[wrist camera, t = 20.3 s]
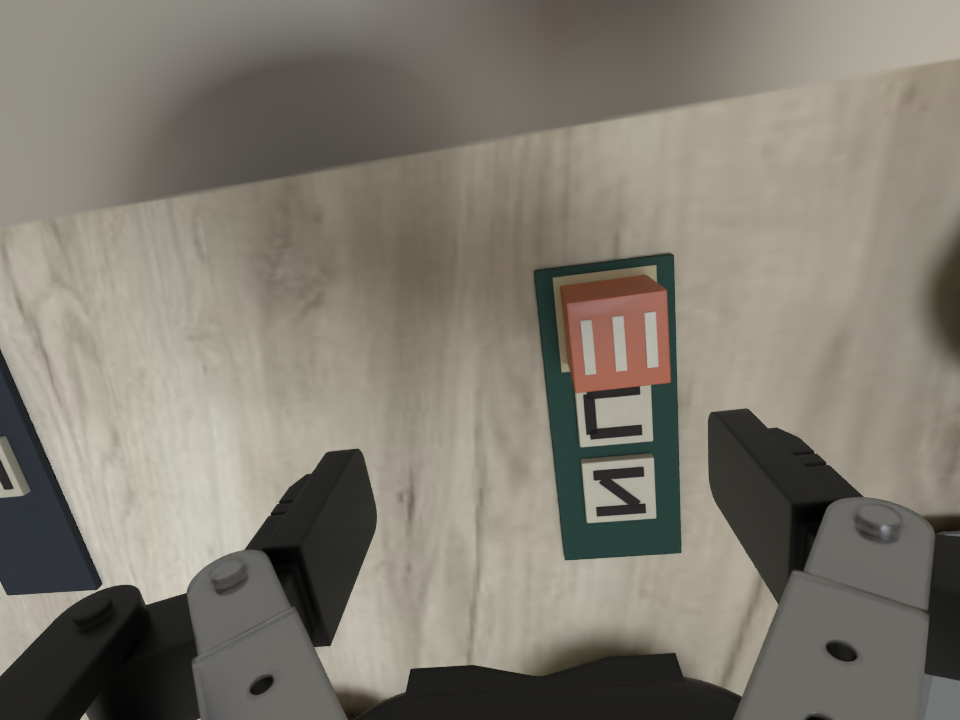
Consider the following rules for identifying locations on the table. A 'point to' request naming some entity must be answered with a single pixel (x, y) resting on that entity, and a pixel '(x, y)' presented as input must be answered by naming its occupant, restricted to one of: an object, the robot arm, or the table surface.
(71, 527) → the far word mat
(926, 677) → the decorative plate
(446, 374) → the table surface
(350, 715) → the onion
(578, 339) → the red striped block
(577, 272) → the near word mat
